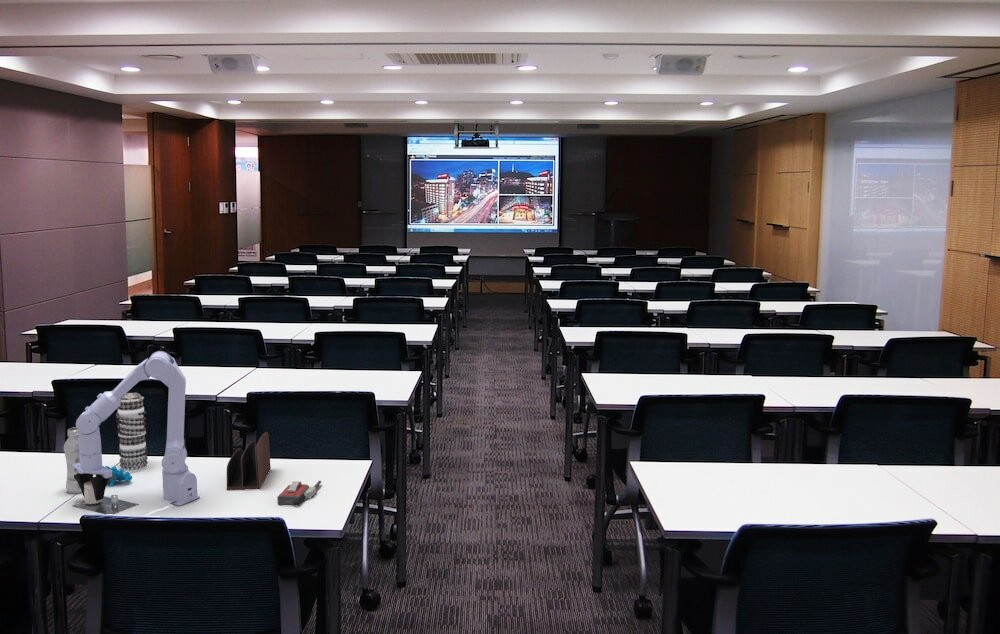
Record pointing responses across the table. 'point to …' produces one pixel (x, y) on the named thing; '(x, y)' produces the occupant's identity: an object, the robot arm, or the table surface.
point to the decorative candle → (132, 433)
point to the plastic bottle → (72, 460)
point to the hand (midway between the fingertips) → (93, 498)
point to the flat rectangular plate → (107, 505)
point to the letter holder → (249, 465)
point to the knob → (90, 493)
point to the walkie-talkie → (296, 493)
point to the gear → (118, 475)
